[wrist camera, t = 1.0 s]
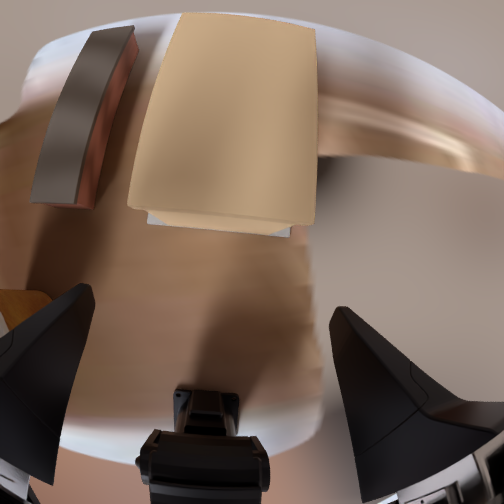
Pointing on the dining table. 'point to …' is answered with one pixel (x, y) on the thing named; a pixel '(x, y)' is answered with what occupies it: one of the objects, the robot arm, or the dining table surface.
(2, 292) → the disposable coffee cup
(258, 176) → the kraft carton
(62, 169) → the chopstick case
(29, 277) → the dining table surface
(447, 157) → the dining table surface
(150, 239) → the dining table surface
